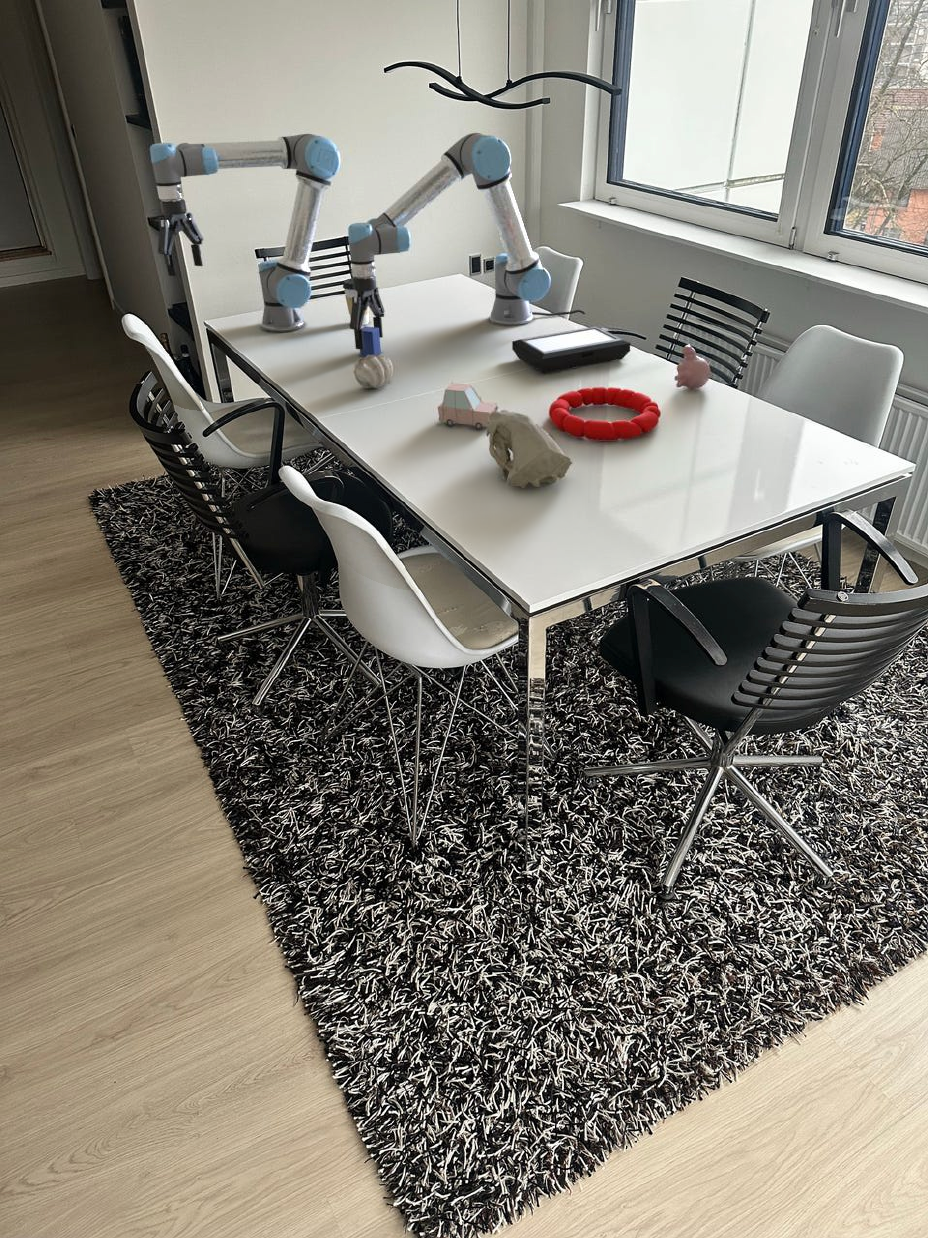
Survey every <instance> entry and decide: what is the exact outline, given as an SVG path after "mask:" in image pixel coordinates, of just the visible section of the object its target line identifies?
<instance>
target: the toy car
mask: <svg viewBox="0 0 928 1238" xmlns="http://www.w3.org/2000/svg"><path fill="white" fill-rule="evenodd" d="M498 409H499V404H498V403H497V402H490V401H489V402H487V401H483V397H481V396H480V395H479V394H478V393H477V391H476V390H475V389H474V386H472V384H469V383H459V382H451V383H450V384H449V385H448V386H447V387H446V388H445V389H444V394H443V399H442V403H440V404H439V405H438V406H437V413H438V421H439V422H443V423H446V425H447V426H448V427H452V426H454V425H455V424H461V425H469V426H473V427H475V429H476V430H479V431H480V430H481V429H483V428H485V427H486V428H487V423H488V422H490V414H491V413H492V412H496V411H499V410H498Z"/></svg>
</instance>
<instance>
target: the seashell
mask: <svg viewBox="0 0 928 1238" xmlns="http://www.w3.org/2000/svg"><path fill="white" fill-rule="evenodd" d="M393 374H394V367H393V364H392V361H391V359H390V358H386V357H385V356H384V355H380V354H378V355H367V356H364V357H358V359H357V360H356V362H355V364H354V370H353V375H354V379H355V380H356V382H357V383H358V385H360V386H361V387H363V388H365V389H366V388H367V389H370V388H375V389H380V388H383V387H385V386H386V385H387V384H388V383H389V381H390V380H391V378H392V377H393Z"/></svg>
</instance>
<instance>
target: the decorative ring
mask: <svg viewBox="0 0 928 1238" xmlns="http://www.w3.org/2000/svg"><path fill="white" fill-rule="evenodd" d="M583 405H584V406H586V407H587V406H591V405H593V406H604V405H608V406H614V407H619V408H624V409H628V410H632V411H635V412H636V413H638V414H639V415H637V416H635V417H632V418H631V419H630V420H625V419H624V420H623V419H622V420H614V421H611V422H609V421H607V420H606V421H605V420H593V419H587V420H586V421H585V419H584V418H582V417H579V416H577V415H573V414H571V413H570V410H571V409H579V408H581V407H582V406H583ZM548 416H549V419H550V422H551V423H552V425H553V426H554V427H555V428H556V429H558V430H559V431H561V432H563V433H567V434H568V435H569V436H573V437H576V438H580V439H582V438H583V437H585V438H586V439H587V440H591V441H601V442H602V441H603V442H608V441H609V442H610V441H611V442H612V441H615V442H616V441H618V440H630V439H634V438H638V437H641V436H642V434H647V433H650V432H651V431H653V430H654V429H655V428H656V427H657V426H658V424H659V422H660V421H659V420H660V417H661V410H660V408H659V405H658V403H657V402H656V401H652V399H651V397H649V396H648V395H646V394H644V393H642V392H635V391H634V390H632V389H628V388H624V389H622V388H620V387H613V386H612V387H611V386H610V387H608V388H606V387H604V386H594V387H585V388H584V387H583V388H580V389H578V390H571V391H568V392H565V393H563V394H561V395H560V396H558V397H557V398H556V400H554V401H552V403H551V404H550V407H549V409H548Z"/></svg>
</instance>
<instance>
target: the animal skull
mask: <svg viewBox="0 0 928 1238" xmlns="http://www.w3.org/2000/svg"><path fill="white" fill-rule="evenodd" d="M485 436H486V438H487V437H489V438H488V440H489V444H488V445H489V446H488V450H489V454H490V456H491V457H492V458H493V459H494V460H495V462H496V464H497V466H499V468H500V470H501V471H502V472H501V478H502V479H507V480H506V484H507V486H517V487H518V486H519V488H523V489H524V488H526V486H527V485H529V483H531V485H533V486H534V487H536V488H540V485H541V484H542V482H544V483H549V484H550V485H553V484H555V483H556V482H557V480H561V479H563V478H565V476H566V474H567V472H568V471H569V469H570V467H571V466H572V464H573V462H572V461H571V458H570V457H568V456H567V455H565V453H564V451H562V449H561V448H560V446H559V444H557V443H556V439H555V438H554V436H553V435H551V434H550V433H548V432H547V431H546V430H545V429H544V428H542V427H541V426H539V425H538V424H537V423H536V424H535V422H534V421H533V419H532V418H531V417H530V416H529V415H527V414H524V413H519V412H515V411H509V410H507V409H502V410H500V411H499V410H497V411H496V412H492V413H491V414H490V422H488V423H487V427H486V435H485ZM511 453H512V454H511ZM511 455H512V457H513V458H512V460H511ZM507 474H508V475H507Z"/></svg>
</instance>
